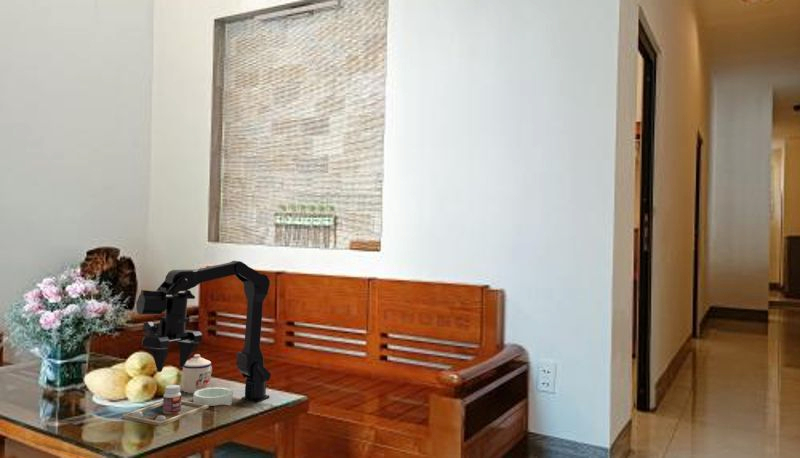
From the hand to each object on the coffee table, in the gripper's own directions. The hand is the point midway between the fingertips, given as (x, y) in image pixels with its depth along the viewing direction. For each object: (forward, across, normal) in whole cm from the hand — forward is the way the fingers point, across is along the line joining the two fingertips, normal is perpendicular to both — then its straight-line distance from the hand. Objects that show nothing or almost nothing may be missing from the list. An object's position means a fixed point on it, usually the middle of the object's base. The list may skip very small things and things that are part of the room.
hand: (170, 369), depth 169 cm
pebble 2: (+12, +8, +4) cm, 15 cm away
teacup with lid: (+12, -27, -10) cm, 31 cm away
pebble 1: (+12, +7, -4) cm, 15 cm away
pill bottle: (+14, -1, +1) cm, 14 cm away
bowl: (+12, -14, +5) cm, 20 cm away
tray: (+13, +1, +1) cm, 13 cm away
